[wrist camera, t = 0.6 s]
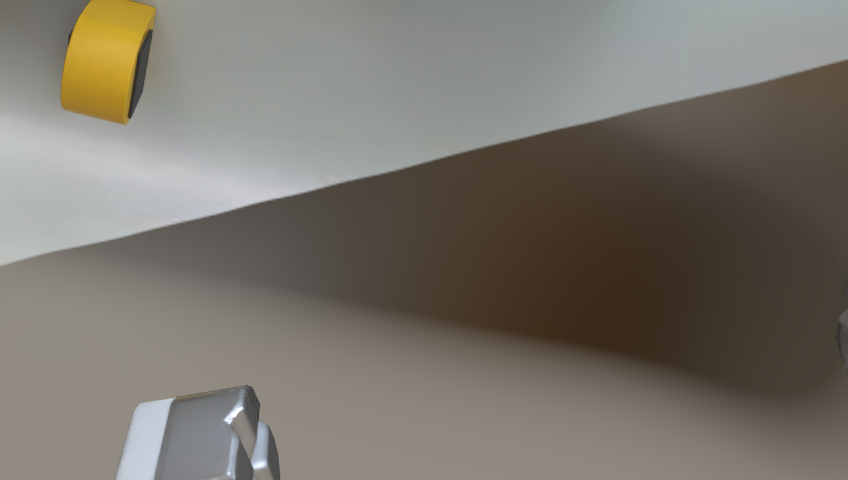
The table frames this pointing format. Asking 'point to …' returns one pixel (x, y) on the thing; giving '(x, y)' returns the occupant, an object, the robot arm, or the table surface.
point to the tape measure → (107, 59)
